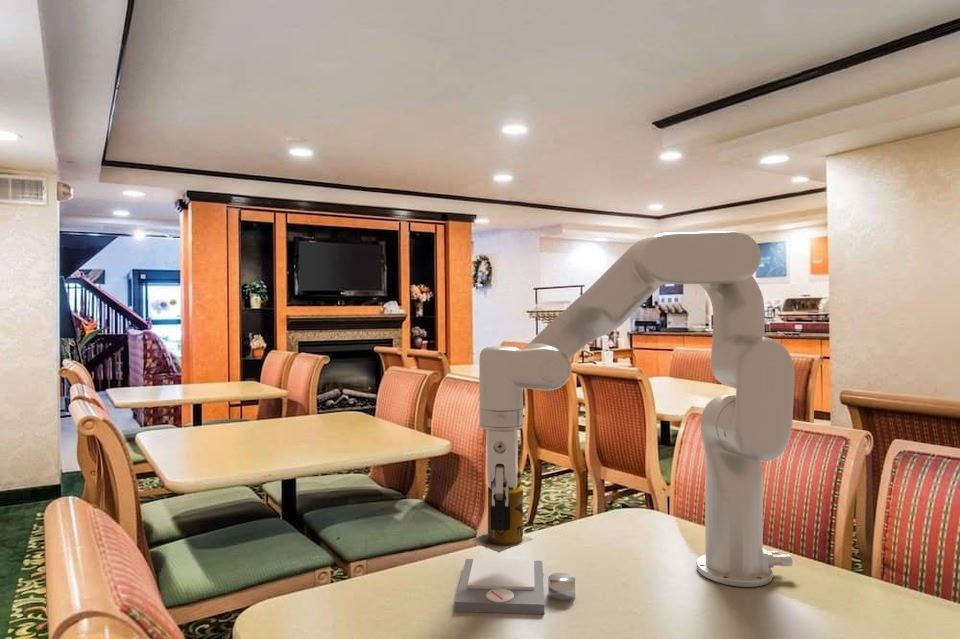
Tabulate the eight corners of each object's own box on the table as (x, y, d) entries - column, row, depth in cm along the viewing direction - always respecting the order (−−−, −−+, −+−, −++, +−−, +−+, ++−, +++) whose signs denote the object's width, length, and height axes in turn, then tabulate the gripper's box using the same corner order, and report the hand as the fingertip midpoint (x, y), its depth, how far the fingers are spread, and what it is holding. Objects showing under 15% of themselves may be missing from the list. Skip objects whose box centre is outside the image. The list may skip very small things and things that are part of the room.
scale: (542, 568, 115) (542, 558, 115) (544, 614, 98) (544, 601, 98) (465, 566, 116) (465, 556, 116) (454, 611, 99) (454, 598, 99)
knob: (574, 590, 106) (574, 573, 106) (576, 603, 102) (576, 584, 102) (548, 590, 107) (547, 572, 107) (548, 602, 102) (548, 583, 102)
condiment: (533, 540, 109) (533, 470, 108) (499, 553, 103) (498, 480, 103) (503, 529, 114) (502, 463, 114) (468, 541, 108) (468, 471, 108)
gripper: (522, 428, 100) (522, 541, 100) (523, 410, 117) (523, 507, 117) (475, 427, 100) (475, 540, 101) (483, 410, 117) (483, 506, 118)
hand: (501, 521), depth 109 cm, fingers closed on condiment, 6 cm apart
